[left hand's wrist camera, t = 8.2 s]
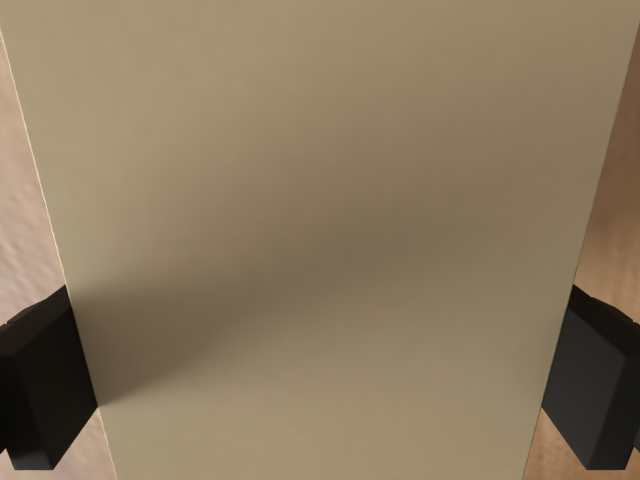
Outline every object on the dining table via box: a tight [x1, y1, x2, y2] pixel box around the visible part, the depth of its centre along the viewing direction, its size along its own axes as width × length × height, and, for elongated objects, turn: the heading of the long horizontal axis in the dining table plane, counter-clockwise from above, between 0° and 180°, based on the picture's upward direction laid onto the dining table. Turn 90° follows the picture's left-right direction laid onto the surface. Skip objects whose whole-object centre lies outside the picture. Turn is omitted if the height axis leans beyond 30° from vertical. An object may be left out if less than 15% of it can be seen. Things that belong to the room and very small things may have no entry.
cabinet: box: [0, 0, 640, 480], centre depth 11 cm, size 21×10×10 cm, turn 0°
